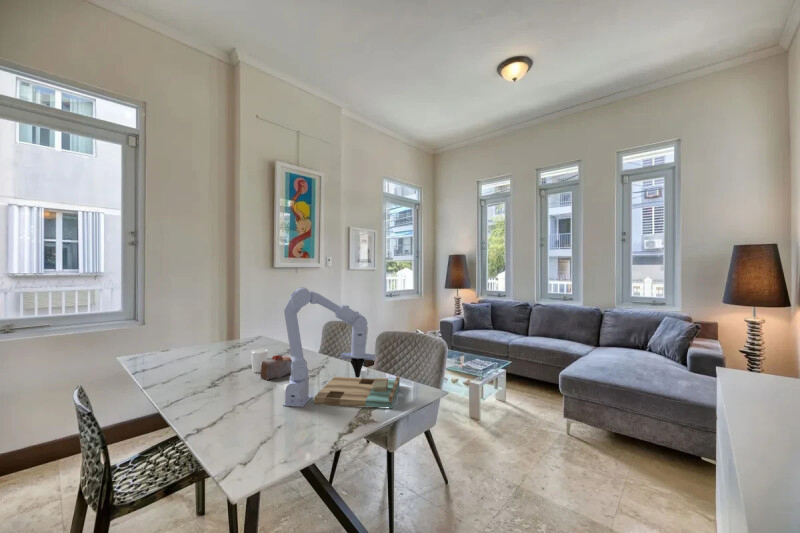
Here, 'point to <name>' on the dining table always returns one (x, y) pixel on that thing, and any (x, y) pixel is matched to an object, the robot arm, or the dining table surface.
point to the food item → (276, 367)
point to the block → (380, 384)
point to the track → (357, 392)
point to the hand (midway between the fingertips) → (357, 376)
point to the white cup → (258, 359)
